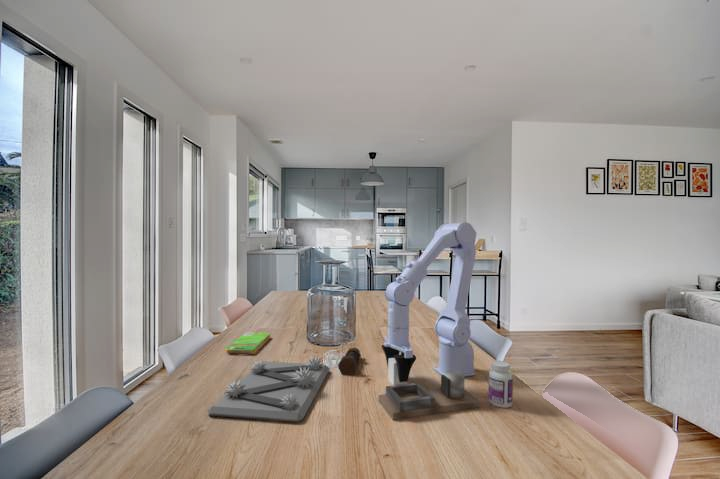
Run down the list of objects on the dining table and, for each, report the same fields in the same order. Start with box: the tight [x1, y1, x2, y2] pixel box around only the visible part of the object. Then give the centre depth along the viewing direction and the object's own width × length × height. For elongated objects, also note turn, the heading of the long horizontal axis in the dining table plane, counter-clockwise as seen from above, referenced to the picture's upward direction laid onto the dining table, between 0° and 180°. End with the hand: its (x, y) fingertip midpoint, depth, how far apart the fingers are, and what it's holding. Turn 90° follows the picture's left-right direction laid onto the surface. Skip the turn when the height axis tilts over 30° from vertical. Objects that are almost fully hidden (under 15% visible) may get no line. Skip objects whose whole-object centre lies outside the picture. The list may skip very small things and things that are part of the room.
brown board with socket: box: [378, 370, 481, 421], centre depth 83 cm, size 22×9×6 cm, turn 107°
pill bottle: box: [488, 360, 514, 409], centre depth 84 cm, size 5×5×10 cm
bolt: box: [337, 347, 362, 376], centre depth 108 cm, size 6×5×15 cm
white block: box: [387, 358, 408, 386], centre depth 96 cm, size 4×4×6 cm
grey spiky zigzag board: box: [207, 355, 330, 423], centre depth 89 cm, size 30×22×7 cm
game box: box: [225, 332, 271, 355], centre depth 126 cm, size 3×10×20 cm
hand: (397, 375), depth 96 cm, fingers open, 7 cm apart
